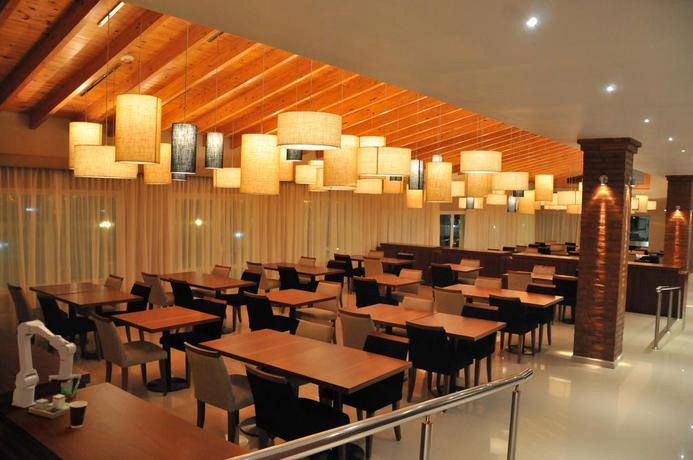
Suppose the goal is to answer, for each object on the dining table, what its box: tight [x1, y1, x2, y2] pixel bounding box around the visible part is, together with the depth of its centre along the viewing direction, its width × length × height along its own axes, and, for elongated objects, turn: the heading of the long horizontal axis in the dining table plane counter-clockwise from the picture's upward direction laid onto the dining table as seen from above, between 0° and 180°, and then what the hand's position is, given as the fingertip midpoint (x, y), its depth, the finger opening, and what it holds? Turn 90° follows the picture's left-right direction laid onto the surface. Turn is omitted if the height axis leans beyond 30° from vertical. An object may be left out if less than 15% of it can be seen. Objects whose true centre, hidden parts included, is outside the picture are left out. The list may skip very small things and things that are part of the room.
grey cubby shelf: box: [28, 405, 67, 420], centre depth 265 cm, size 16×8×3 cm, turn 71°
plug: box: [51, 393, 66, 408], centre depth 273 cm, size 4×4×6 cm
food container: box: [60, 379, 80, 401], centre depth 288 cm, size 12×6×10 cm, turn 179°
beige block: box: [34, 398, 49, 410], centre depth 266 cm, size 4×4×6 cm
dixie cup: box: [69, 400, 88, 429], centre depth 253 cm, size 8×8×11 cm
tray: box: [48, 402, 70, 411], centre depth 273 cm, size 12×10×1 cm
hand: (63, 393), depth 268 cm, fingers open, 7 cm apart
